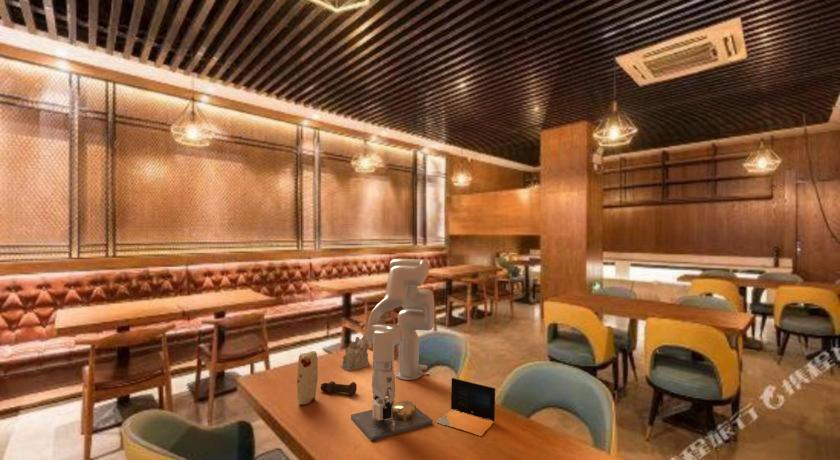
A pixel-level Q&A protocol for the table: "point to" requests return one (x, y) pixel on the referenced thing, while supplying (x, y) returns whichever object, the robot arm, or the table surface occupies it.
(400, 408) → the sun gear
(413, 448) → the table surface
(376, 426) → the carrier plate
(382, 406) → the planet gear
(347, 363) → the grey jagged tapered piece
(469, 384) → the laptop
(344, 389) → the bolt
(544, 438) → the table surface
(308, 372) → the food model
